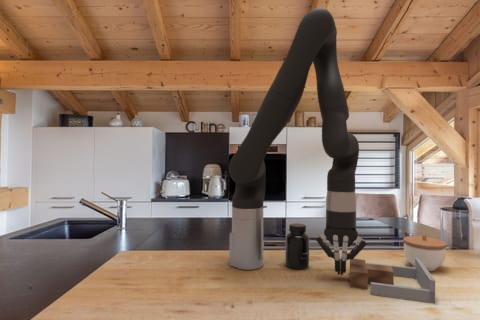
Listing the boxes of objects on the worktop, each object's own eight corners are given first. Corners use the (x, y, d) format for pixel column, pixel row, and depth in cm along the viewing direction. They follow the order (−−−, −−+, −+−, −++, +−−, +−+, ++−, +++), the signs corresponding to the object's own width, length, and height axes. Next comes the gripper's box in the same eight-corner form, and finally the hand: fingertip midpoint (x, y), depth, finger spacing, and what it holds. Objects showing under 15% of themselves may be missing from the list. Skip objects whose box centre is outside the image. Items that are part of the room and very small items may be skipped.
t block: (350, 287, 76) (350, 271, 76) (349, 272, 85) (349, 258, 85) (395, 293, 73) (395, 276, 72) (389, 277, 82) (389, 262, 82)
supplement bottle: (309, 271, 86) (309, 228, 86) (284, 269, 88) (284, 227, 87) (308, 262, 93) (309, 223, 93) (286, 260, 94) (286, 221, 94)
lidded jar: (405, 270, 87) (405, 237, 86) (401, 259, 96) (401, 229, 96) (450, 276, 83) (451, 241, 82) (441, 263, 92) (441, 232, 92)
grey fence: (370, 294, 72) (371, 273, 72) (366, 271, 86) (366, 253, 86) (434, 303, 68) (435, 280, 68) (419, 277, 82) (419, 258, 82)
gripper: (313, 209, 79) (313, 275, 80) (369, 212, 75) (368, 282, 75) (316, 204, 87) (316, 265, 87) (367, 207, 82) (366, 271, 83)
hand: (340, 273), depth 81 cm, fingers closed
